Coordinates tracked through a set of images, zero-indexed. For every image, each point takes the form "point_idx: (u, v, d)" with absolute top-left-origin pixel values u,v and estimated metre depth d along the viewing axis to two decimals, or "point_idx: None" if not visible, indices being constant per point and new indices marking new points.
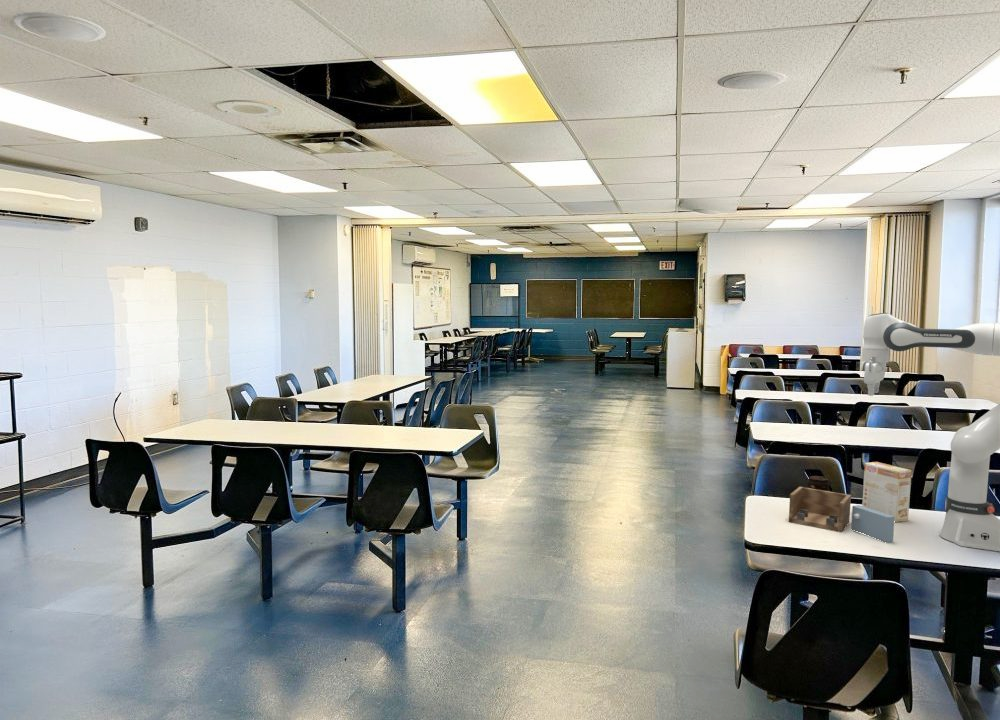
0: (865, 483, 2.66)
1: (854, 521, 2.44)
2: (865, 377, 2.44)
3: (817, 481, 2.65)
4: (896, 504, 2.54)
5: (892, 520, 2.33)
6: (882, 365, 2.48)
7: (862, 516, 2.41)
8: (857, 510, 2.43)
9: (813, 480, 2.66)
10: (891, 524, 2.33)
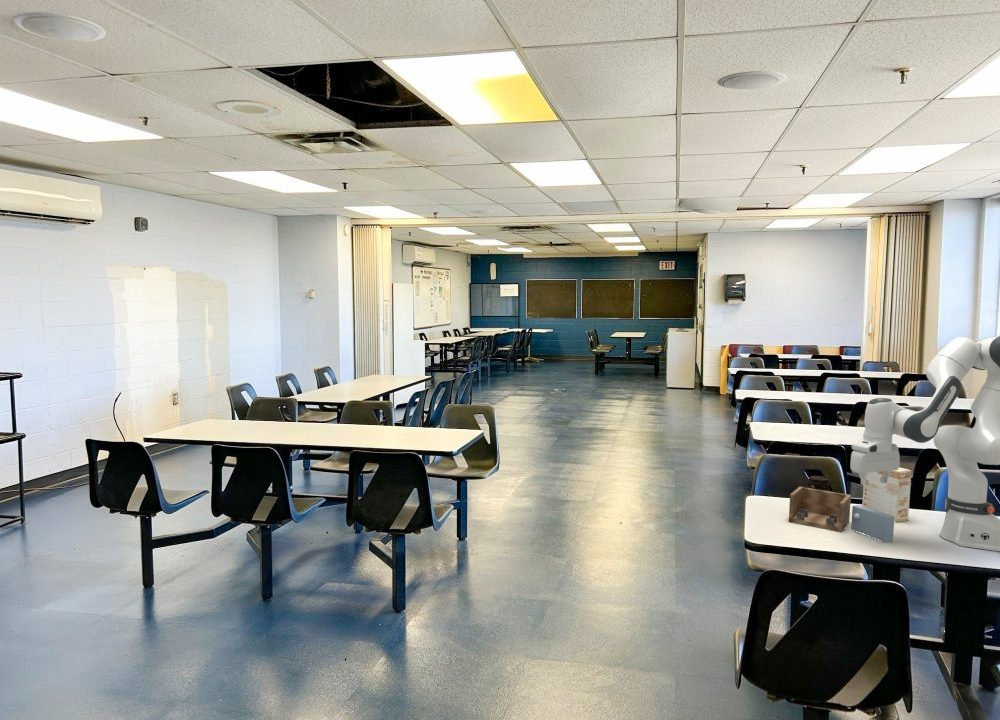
0: None
1: (854, 521, 2.44)
2: None
3: (817, 481, 2.65)
4: (896, 503, 2.54)
5: (892, 520, 2.33)
6: None
7: (862, 516, 2.41)
8: (857, 510, 2.43)
9: (813, 480, 2.66)
10: (891, 524, 2.33)
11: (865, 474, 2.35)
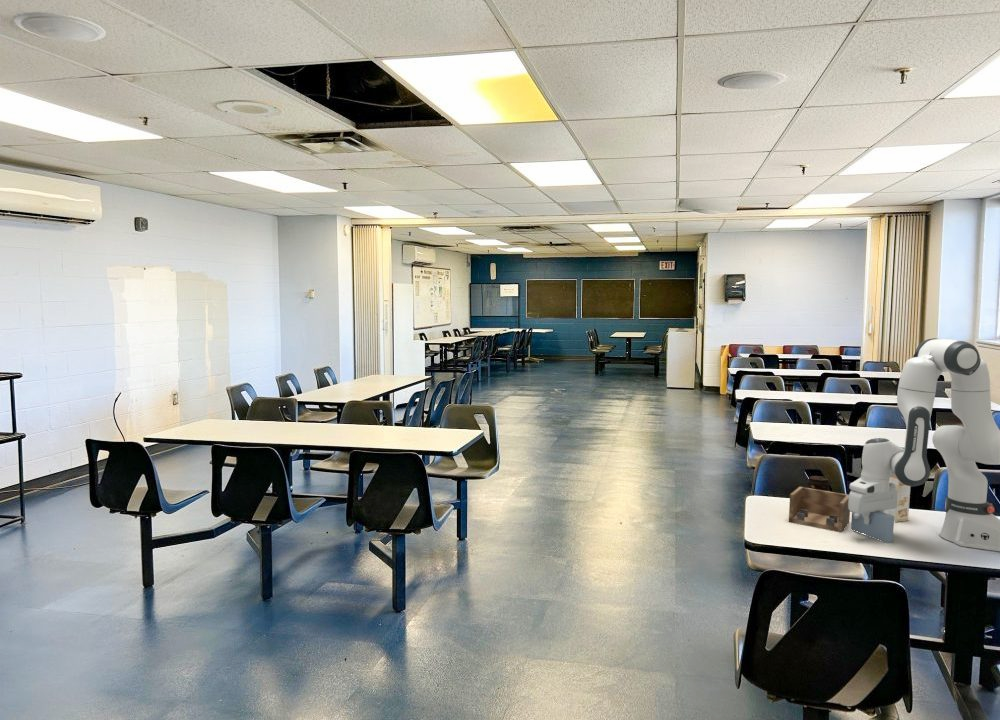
0: None
1: (854, 521, 2.44)
2: None
3: (817, 481, 2.65)
4: None
5: (892, 519, 2.33)
6: None
7: (862, 515, 2.41)
8: None
9: (813, 480, 2.66)
10: (891, 524, 2.33)
11: (868, 513, 2.37)
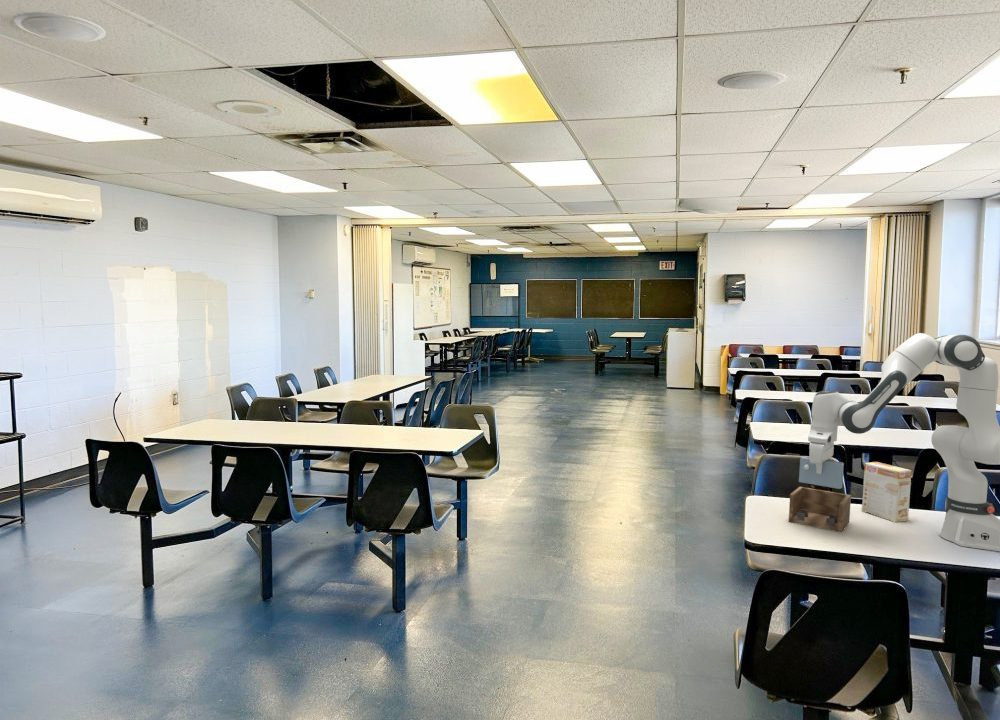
0: (865, 483, 2.66)
1: (802, 472, 2.51)
2: None
3: None
4: (896, 503, 2.54)
5: (843, 466, 2.45)
6: None
7: (811, 466, 2.49)
8: (806, 461, 2.50)
9: None
10: (842, 470, 2.44)
11: (822, 463, 2.45)
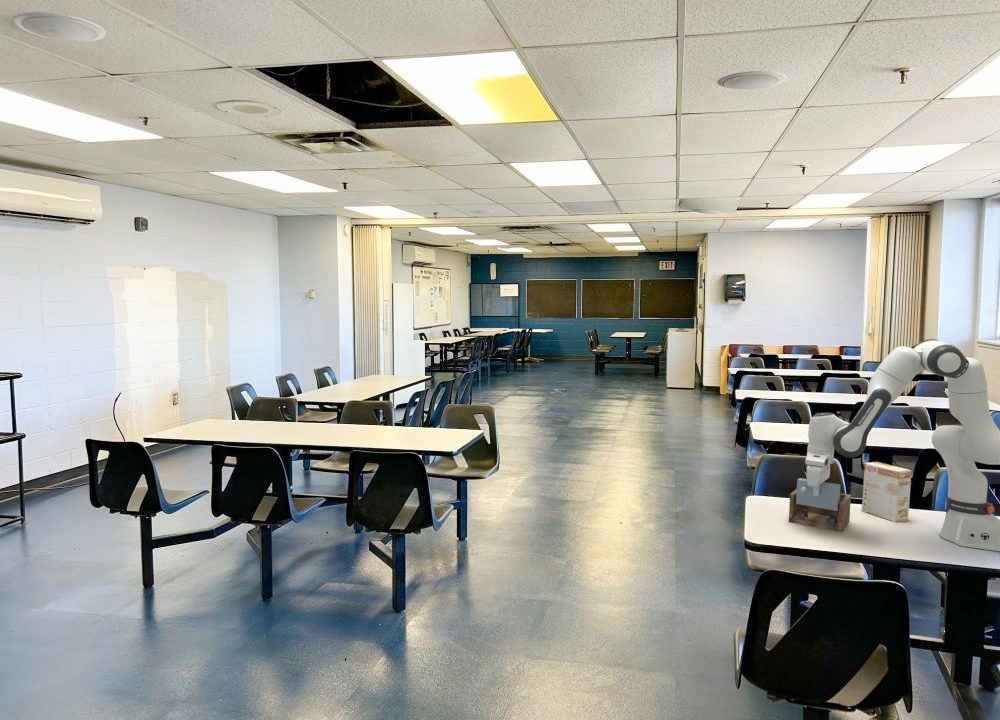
0: (865, 483, 2.67)
1: (799, 494, 2.52)
2: None
3: None
4: (896, 503, 2.54)
5: (839, 488, 2.46)
6: None
7: (808, 488, 2.50)
8: (803, 483, 2.51)
9: None
10: (839, 492, 2.45)
11: (819, 485, 2.46)
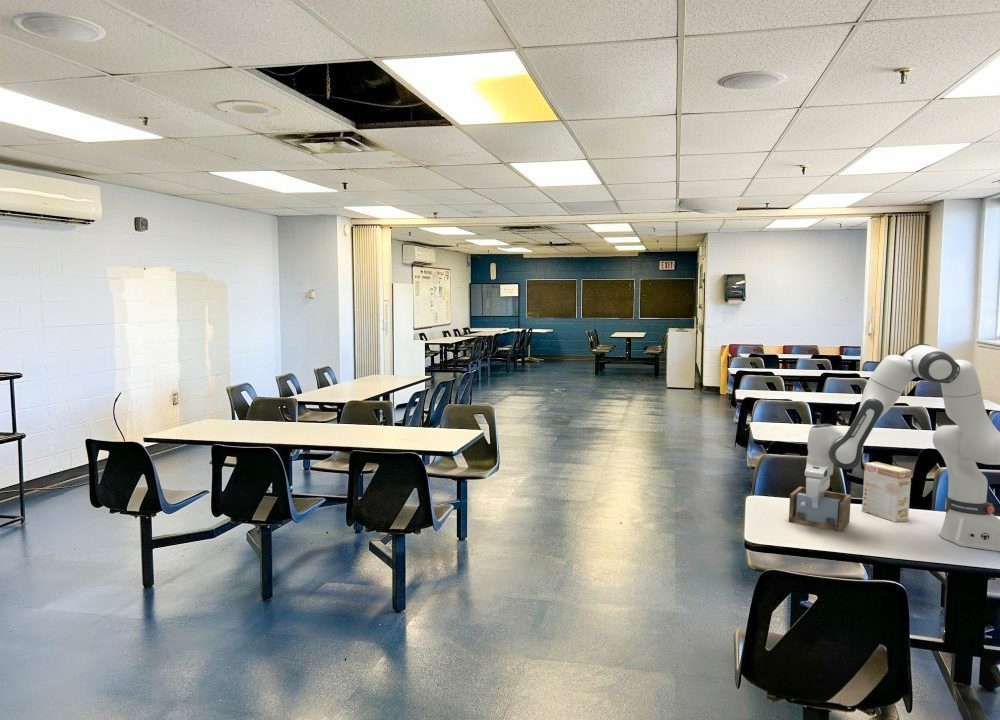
0: (865, 483, 2.67)
1: (799, 509, 2.52)
2: None
3: None
4: (896, 503, 2.54)
5: (839, 503, 2.46)
6: None
7: (808, 503, 2.50)
8: (802, 498, 2.51)
9: None
10: None
11: (818, 497, 2.45)
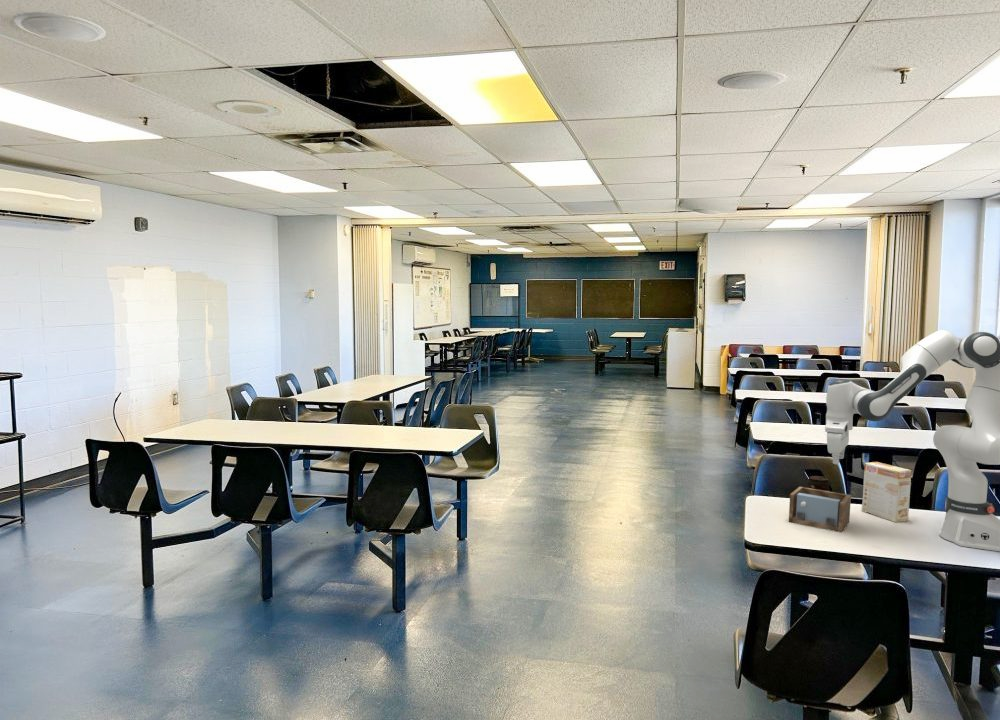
0: (865, 483, 2.66)
1: (799, 509, 2.52)
2: None
3: (817, 481, 2.65)
4: (896, 503, 2.54)
5: (839, 503, 2.46)
6: None
7: (808, 503, 2.50)
8: (802, 498, 2.51)
9: (813, 480, 2.66)
10: None
11: (838, 453, 2.46)
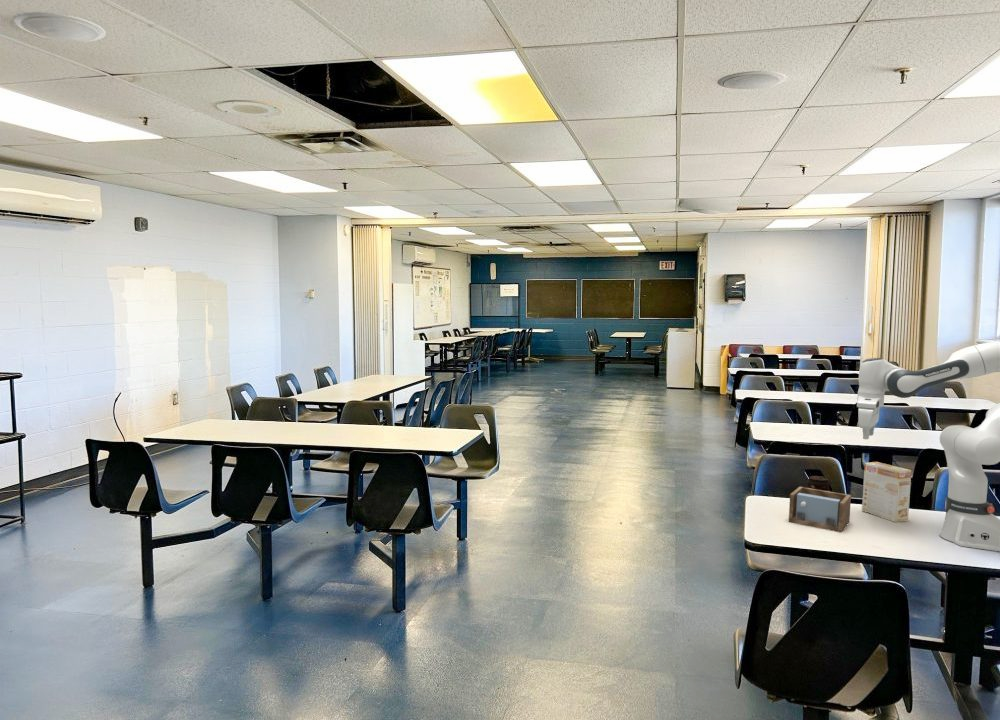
0: (865, 483, 2.67)
1: (799, 509, 2.52)
2: None
3: (817, 481, 2.65)
4: (896, 503, 2.54)
5: (839, 503, 2.46)
6: None
7: (808, 503, 2.50)
8: (802, 498, 2.51)
9: (813, 480, 2.66)
10: None
11: (869, 429, 2.52)
